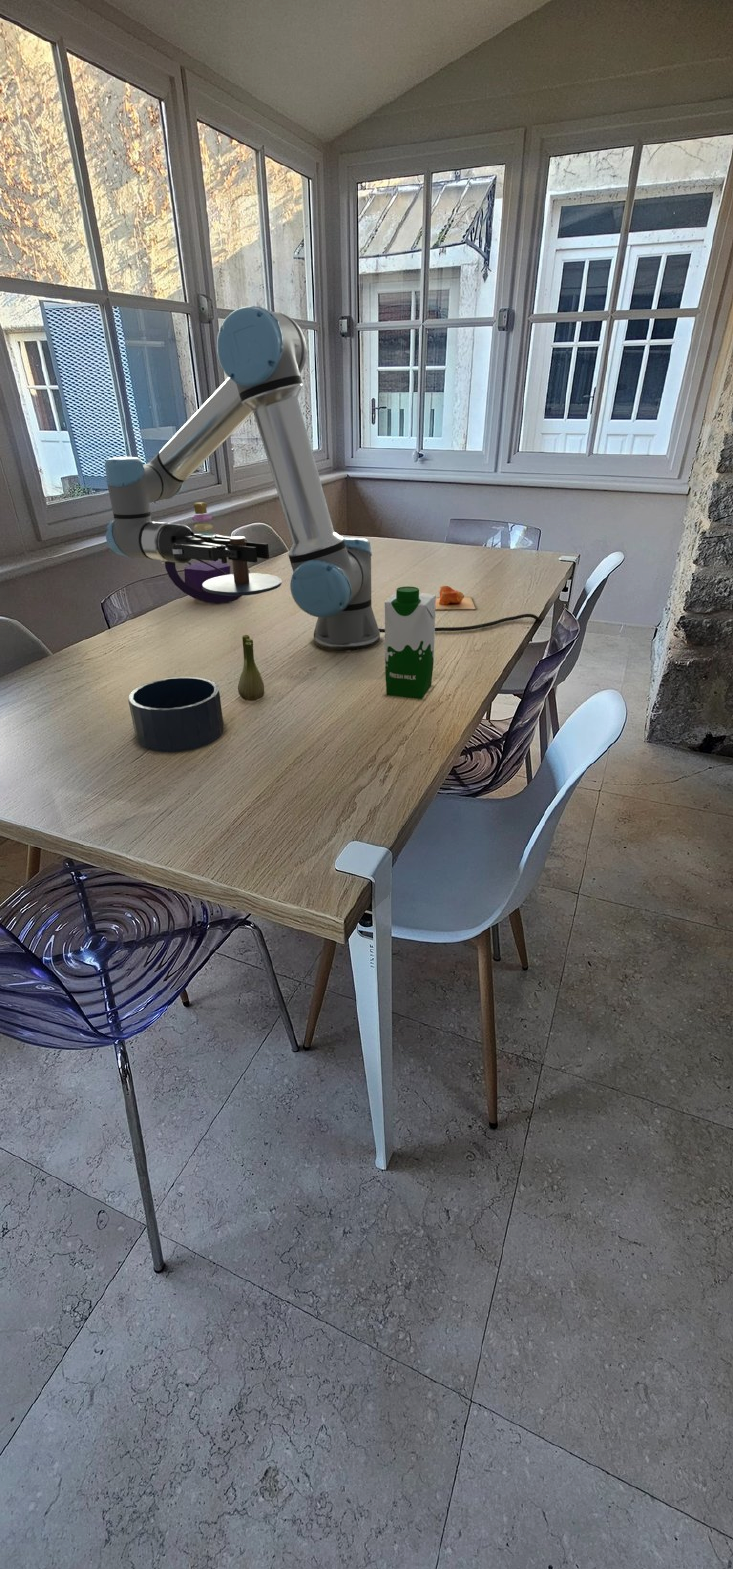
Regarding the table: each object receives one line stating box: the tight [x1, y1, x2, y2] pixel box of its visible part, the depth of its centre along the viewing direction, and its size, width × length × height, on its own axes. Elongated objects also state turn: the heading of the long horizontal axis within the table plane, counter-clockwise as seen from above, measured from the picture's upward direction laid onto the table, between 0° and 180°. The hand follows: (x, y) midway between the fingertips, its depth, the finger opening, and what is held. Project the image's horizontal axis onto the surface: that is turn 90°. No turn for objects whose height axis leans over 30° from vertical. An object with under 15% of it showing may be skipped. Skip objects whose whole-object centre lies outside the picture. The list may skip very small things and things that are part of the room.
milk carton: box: [383, 586, 437, 700], centre depth 130 cm, size 9×9×20 cm
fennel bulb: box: [237, 634, 265, 702], centre depth 129 cm, size 6×5×12 cm
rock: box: [435, 585, 476, 611], centre depth 187 cm, size 12×12×4 cm
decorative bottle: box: [164, 501, 251, 605], centre depth 193 cm, size 22×21×25 cm
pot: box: [127, 676, 225, 754], centre depth 118 cm, size 15×15×8 cm
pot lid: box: [202, 535, 282, 597], centre depth 137 cm, size 16×16×10 cm
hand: (261, 553), depth 133 cm, fingers closed on pot lid, 3 cm apart
